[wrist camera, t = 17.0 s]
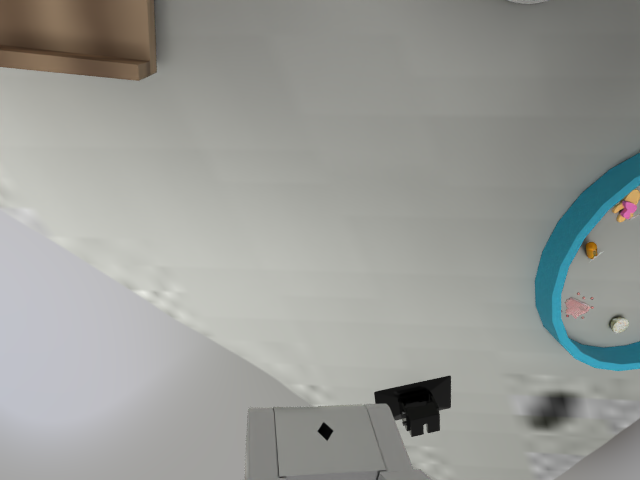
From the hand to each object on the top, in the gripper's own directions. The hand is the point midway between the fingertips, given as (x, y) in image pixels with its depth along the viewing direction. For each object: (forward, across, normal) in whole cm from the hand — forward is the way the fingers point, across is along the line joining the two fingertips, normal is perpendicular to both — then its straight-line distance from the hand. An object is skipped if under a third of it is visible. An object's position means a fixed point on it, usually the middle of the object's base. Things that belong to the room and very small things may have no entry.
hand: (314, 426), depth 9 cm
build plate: (+36, -22, +36) cm, 55 cm away
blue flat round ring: (+36, -49, +13) cm, 62 cm away
